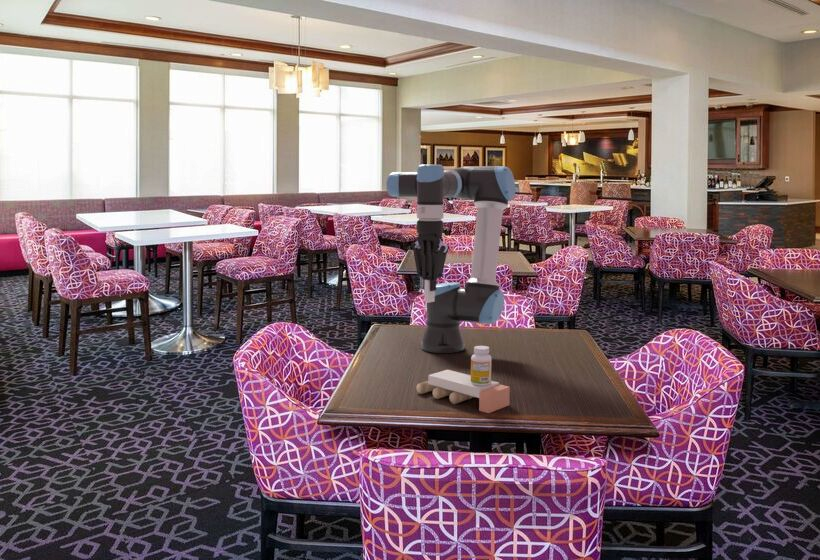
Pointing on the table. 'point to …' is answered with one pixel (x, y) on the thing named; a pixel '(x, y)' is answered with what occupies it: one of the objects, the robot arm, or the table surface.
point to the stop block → (494, 398)
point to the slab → (457, 382)
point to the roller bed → (442, 392)
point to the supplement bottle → (481, 366)
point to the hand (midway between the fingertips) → (429, 301)
